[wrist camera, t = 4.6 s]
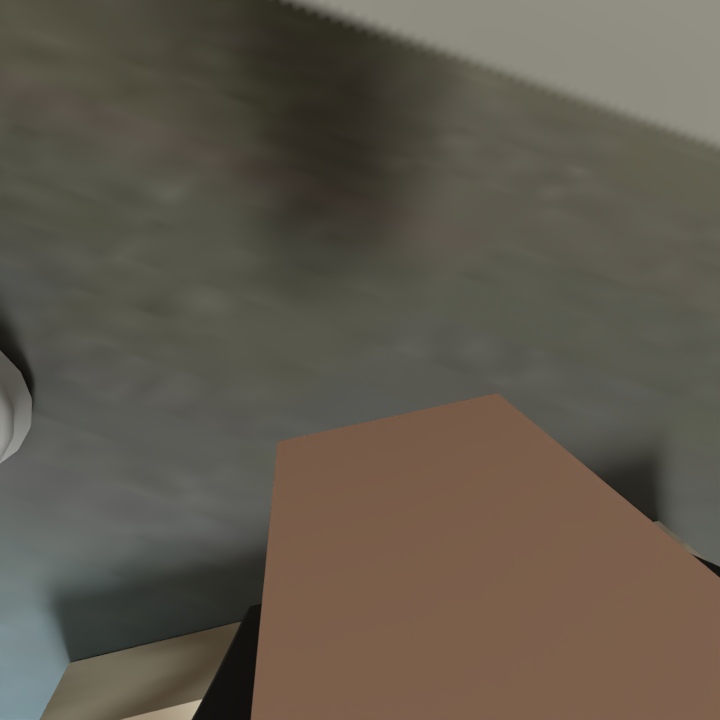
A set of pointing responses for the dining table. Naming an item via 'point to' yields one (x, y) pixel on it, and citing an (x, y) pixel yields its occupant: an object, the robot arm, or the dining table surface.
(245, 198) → the dining table surface
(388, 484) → the square peg
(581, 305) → the dining table surface
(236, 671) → the robot arm
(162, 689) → the rail
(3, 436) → the rook chess piece
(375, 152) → the dining table surface
